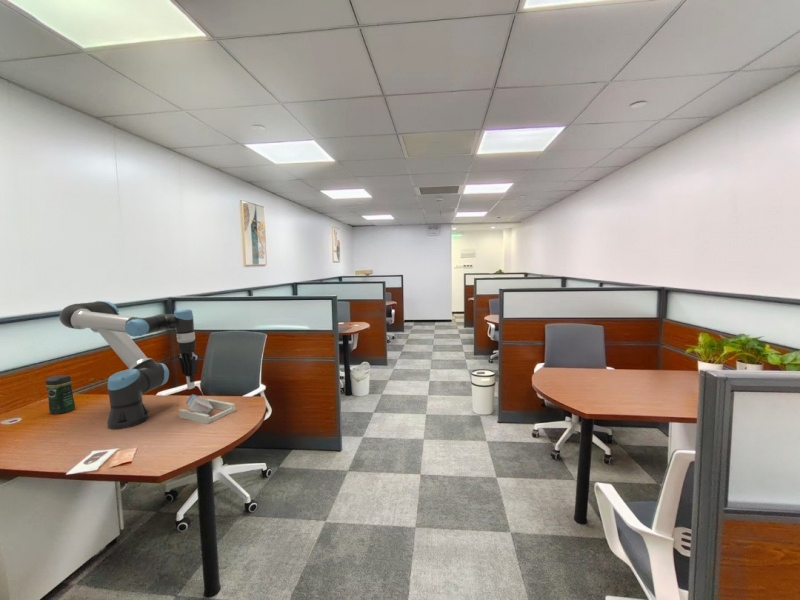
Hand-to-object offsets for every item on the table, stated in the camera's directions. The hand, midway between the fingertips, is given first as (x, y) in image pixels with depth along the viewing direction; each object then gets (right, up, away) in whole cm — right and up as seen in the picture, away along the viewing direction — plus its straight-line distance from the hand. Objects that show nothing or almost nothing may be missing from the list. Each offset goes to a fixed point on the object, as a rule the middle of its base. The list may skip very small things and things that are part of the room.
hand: (191, 388), depth 167 cm
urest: (+10, -12, -3) cm, 15 cm away
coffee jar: (-69, -14, +6) cm, 71 cm away
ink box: (+2, -7, +2) cm, 8 cm away
